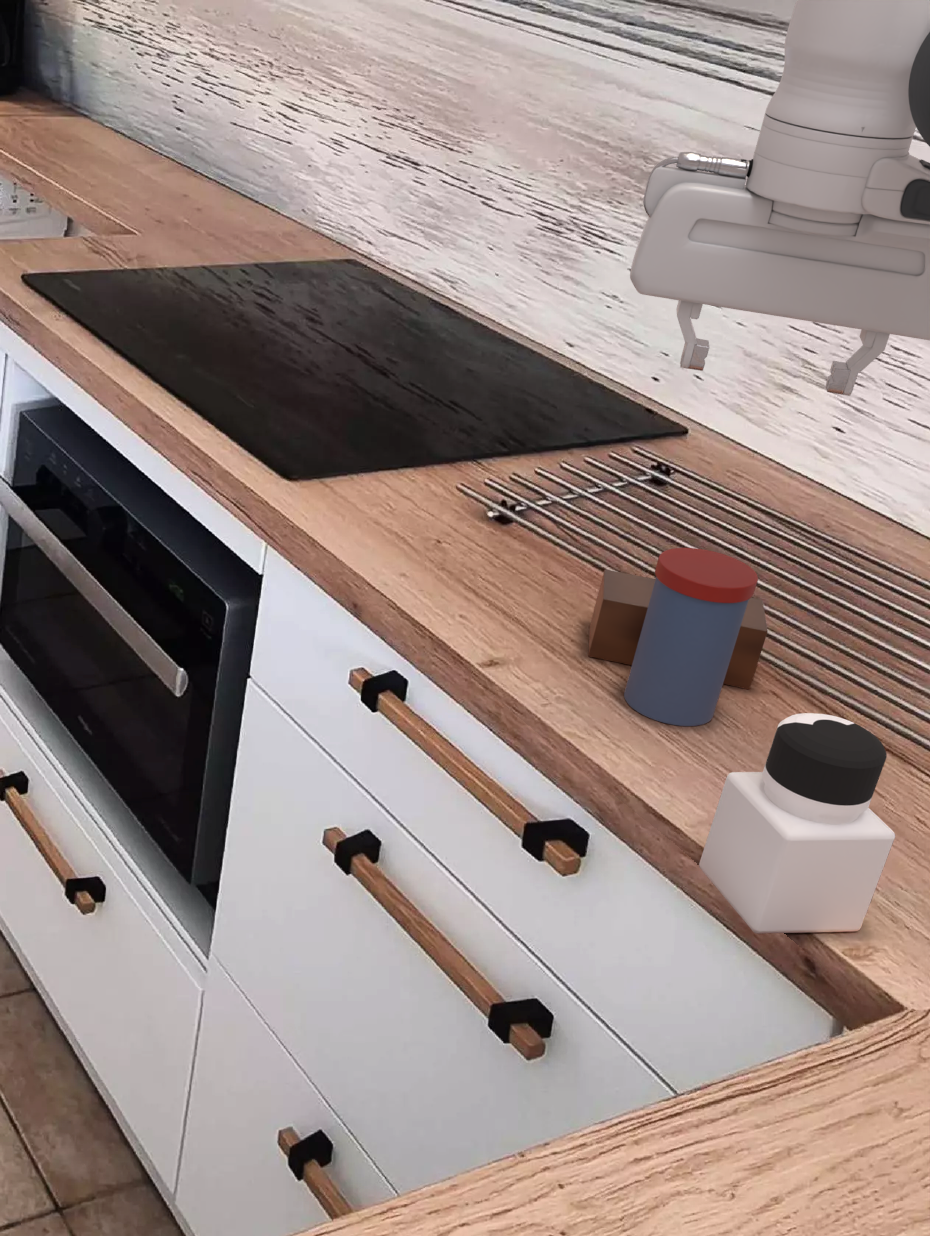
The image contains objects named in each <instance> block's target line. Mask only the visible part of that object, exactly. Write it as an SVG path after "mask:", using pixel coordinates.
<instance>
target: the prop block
mask: <svg viewBox="0 0 930 1236" xmlns="http://www.w3.org/2000/svg"><path fill="white" fill-rule="evenodd" d="M655 580H656V578H651V577H647V576H641V575H636V574H633V573H632V574H631V573H626V572H621V571H616V570H611V569H604V570H603V573H602V577H601V581H600V585H599V589H598V593H597V596H596V601H595V604H594V608H593V612H592V616H591V620H590V624H589V634H588V637H589V638H588V655H587V656H588V657H590V658H595V659H599V660H604V661H608V662H609V661H610V662H615V663H619V664H624V665H630V666H632V663H633V660H634V656H635V652H636V649H637V645H638V641H639V638H640V634H641V631H642V627H643V623H644V620H645V616H646V613H647V609H648V605H649V602H650V598H651V594H652V591H653V587H654V584H655ZM768 632H769V631H768V624H767V619H766V611H765V605H764V600H763V599H759V598H755V597H751V598H750V599H749V601H748V604H747V607H746V610H745V614H744V617H743V620H742V623H741V627H740V630H739V633H738V636H737V640H736V643H735V646H734V650H733V653H732V656H731V659H730V663H729V666H728V669H727V672H726V676H725V679H724V682H723V685H727V686H732V687H735V688H740V689H741V688H742V689H746V690H750V689H751V686H752V683H753V680H754V676H755V673H756V671H757V667H758V663H759V662H760V661H759V660H760V658H761V654H762V651H763V648H764V645H765V642H766V638H767V635H768Z"/></svg>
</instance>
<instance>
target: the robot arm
mask: <svg viewBox="0 0 930 1236" xmlns="http://www.w3.org/2000/svg"><path fill="white" fill-rule="evenodd" d="M783 47H784V63H783V64H784V65H783V71H782V74H781V78H780V80H779V83H778V85H777V88H776V90H775V92H774V93H773V95H772V96H771V98H770V99H769V102H768V104H767V106H766V109H765V112H764V116H763V119H762V123H761V127H760V130H759V134H758V139H757V141H756V145H755V148H754V152H753V157H752V158H751V159H744V158H735V157H728V156H710V155H709V156H708V155H702V154H701V153H699V152H692V151H682V152H679V153H678V156H671V157H668V158H665V159H663V160H662V161H660V162H659V163H657V164H655V166H654V167H653V168H652V170H651V172H650V173H649V175H648V179H647V182H646V186H645V191H644V195H643V208H644V211H645V213H646V215H647V216H648V217H647V220H646V222H645V224H644V227H643V230H642V232H641V235H640V236H639V237H640V238H639V240H638V242H637V243H638V244H637V247H636V249H635V252H634V255H633V259H632V262H631V266H630V271H629V279H630V281H631V283H632V285H633V287H634V288H635V290H636V291H637V293H638V294H640V295H643V296H649V297H655V298H661V299H668V300H674V301H677V304H676V318H677V320H678V324H679V327H680V330H681V333H682V334H681V335H682V336H683V340H684V345H683V348H682V352H681V356H680V362H679V366H680V367H679V368H682V369H686V370H687V369H688V370H695V371H701V372H703V371H704V368H705V365H706V358H707V357H708V355H709V350H710V342H709V340H708V339H704V338H703V339H702V338H697V335H696V331H695V328H694V325H693V322H692V321H693V320H698V319H700V315H701V312H702V309H703V305H706V306H711V307H712V306H713V307H717V308H724V309H730V310H736V311H737V310H738V311H743V312H750V313H757V314H761V315H769V316H775V317H781V318H787V319H793V320H798V321H799V320H800V321H806V322H813V323H819V324H826V325H831V326H838V327H842V328H843V327H844V328H849V329H857V330H860V333H859V340H860V341H861V343H862V346H860V347H859V348H858V349H857V350H856V352H854V354H852V355H851V356H850V357H849V358H848V359H847V360H845V362H843V361H836V360H832V363H831V365H830V368H829V371H830V374H829V375H828V376H827V378H826V383H825V389H826V392H827V393H830V394H835V395H836V394H837V395H843V396H847V397H848V396H849V397H850V396H851V395H852V393H853V391H854V388H855V384H856V381H857V379H858V375H859V373H861V372H863V370H864V369H866V368H867V367H868V366H869V365H870V364H872V363H873V361H874V360H876V359H877V358H879V356H880V355H882V353H883V352H884V351H885V350H886V347H887V344H888V341H889V338H890V335H894V336H900V337H906V338H911V339H912V338H913V339H918V340H924V341H930V162H929V161H926V160H924V159H921V158H917V157H916V156H914V155H912V154H910V149H911V145H912V141H913V137H914V135H915V131H916V130H917V131H918V134H919V135H920V137H921V138H922V139H923V141H924V142H925V144H927V146H928V147H929V148H930V0H795V4H794V7H793V10H792V13H791V18H790V20H789V24H788V27H787V31H786V35H785V39H784V46H783ZM672 164H676V167H675V166H674V167H673V166H669V165H672Z"/></svg>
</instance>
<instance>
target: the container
mask: <svg viewBox="0 0 930 1236" xmlns="http://www.w3.org/2000/svg"><path fill="white" fill-rule="evenodd" d="M654 574H655V579H656V580H655V584H654V587H653V591H652V594H651V598H650V602H649V605H648V609H647V613H646V616H645V620H644V623H643V627H642V631H641V634H640V638H639V641H638V645H637V649H636V652H635V656H634V660H633V663H632V665H631V668H630V670H629V675H628V678H627V682H626V685H625V689H624V693H623V698H624V701H625V702H626V703H627V704H628V706H629V707H630V708H632V709H633V710H634V711H635V712H636V713H639V714H641V715H642V716H644V717H647V718H648V719H650V720H654V721H657V722H660V723H663V724H667V725H673V726H679V727H696V726H702V725H705V724H707V723H709V722H710V721H711V720H712V719H714V715H715V712H716V708H717V704H718V701H719V698H720V695H721V692H722V689H723V685H724V684H723V682H724V679H725V676H726V672H727V669H728V666H729V663H730V659H731V656H732V653H733V650H734V646H735V643H736V640H737V636H738V633H739V630H740V627H741V623H742V620H743V617H744V614H745V610H746V607H747V604H748V601H749V599H750V598H753V596H754V594H755V590H756V589H757V585H758V581H759V576H758V574H757V572H756V571H755V570H754V569H753V568H752V567H751V566H749V565H748V564H746V563H745V562H743V561H741V560H739V559H737V558H735V557H732V556H730V555H727V554H723V553H721V552H717V551H713V550H709V549H703V548H695V547H676V548H675V547H674V548H669V549H666V550H664V551H662V552H661V553H660V554H659V556H658V558H657V562H656V565H655V570H654Z"/></svg>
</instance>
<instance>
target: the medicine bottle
mask: <svg viewBox="0 0 930 1236" xmlns="http://www.w3.org/2000/svg"><path fill="white" fill-rule="evenodd" d="M887 754H888V753H887V751H886V749H885V747H884V744H883V743H882V741H881V740H880V739H879V738H878V737H877V736H876V735H875V734H873V733H872V732H871V731H870V730H868V729H866V728H864V727H863V726H861V725H859V724H857V723H855V722H853V721H851V720H849V719H845V718H843V717H840V716H836V715H831V714H826V713H813V712H802V713H801V712H800V713H795V714H792V715H789V716H787V717H786V718H784V719H782V720H781V721H780V722H779V723H778V725H777V727H776V730H775V733H774V737H773V739H772V743H771V746H770V748H769V751H768V755H767V758H766V760H765V764H764V767H763V769H762V771H732V772H729V773H728V774H727V776H726V778H725V781H724V784H723V787H722V791H721V793H720V797H719V799H718V800H719V801H718V803H717V805H716V810H715V813H714V816H713V818H712V822H711V825H710V828H709V830H708V835H707V838H706V841H705V844H704V847H703V851H702V852H701V857H700V860H699V863H698V866H699V869H700V870H701V871H702V873H703V874H704V876H706V877H707V878H708V880H709V881H710V882H711V884H713V886H714V887H715V888H716V889H717V890H718V892H719V893H720V894H721V895H722V897H723V898H724V899H725V900H726V901H727V903H728V904H729V905H730V906H731V907H732V908H733V910H734V911H735V912H736V913H737V914H738V916H739V917H740V918H741V919H742V920H743V921H744V923H745V924H746V925H747V926H748V927H749V929H750V930H751V931H752V932H753V933H754V934H757V935H759V934H795V933H796V934H797V933H798V934H799V933H800V934H801V933H838V932H842V933H843V932H858V931H860V929H861V928H862V926H863V924H864V921H865V919H866V916H867V913H868V911H869V908H870V905H871V903H872V900H873V896H874V894H875V892H876V889H877V887H878V884H879V881H880V879H881V876H882V874H883V871H884V868H885V865H886V863H887V860H888V857H889V855H890V852H891V850H892V847H893V844H894V841H895V839H896V833H895V832H894V831H893V829H892V828H890V826H888V825H887V824H886V823H885V822H884V820H883V819H881V818H880V817H879V816H878V815H877V814H876V813H875V812H873V810H872V809H871V808H870V804H871V802H872V799H873V796H874V793H875V790H876V787H877V785H878V782H879V780H880V778H881V775H882V772H883V768H884V766H885V764H886V761H887V758H888V756H887Z"/></svg>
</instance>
